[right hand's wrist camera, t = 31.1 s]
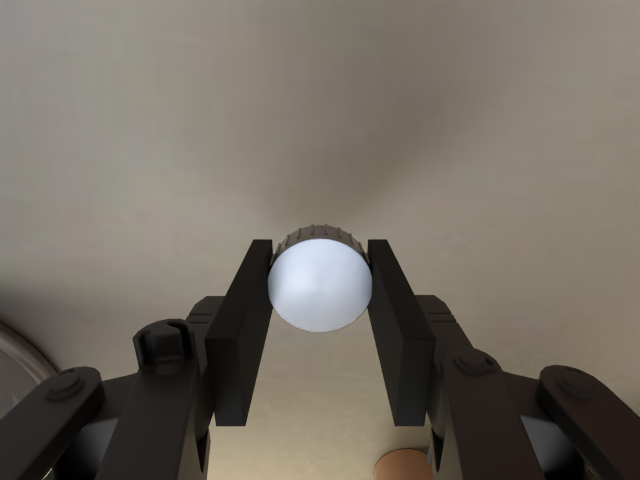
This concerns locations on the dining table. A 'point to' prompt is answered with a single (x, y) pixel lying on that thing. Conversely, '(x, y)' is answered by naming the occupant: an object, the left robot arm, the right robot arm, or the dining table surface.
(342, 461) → the dining table surface
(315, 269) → the cap
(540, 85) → the dining table surface
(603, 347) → the dining table surface
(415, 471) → the bottle
